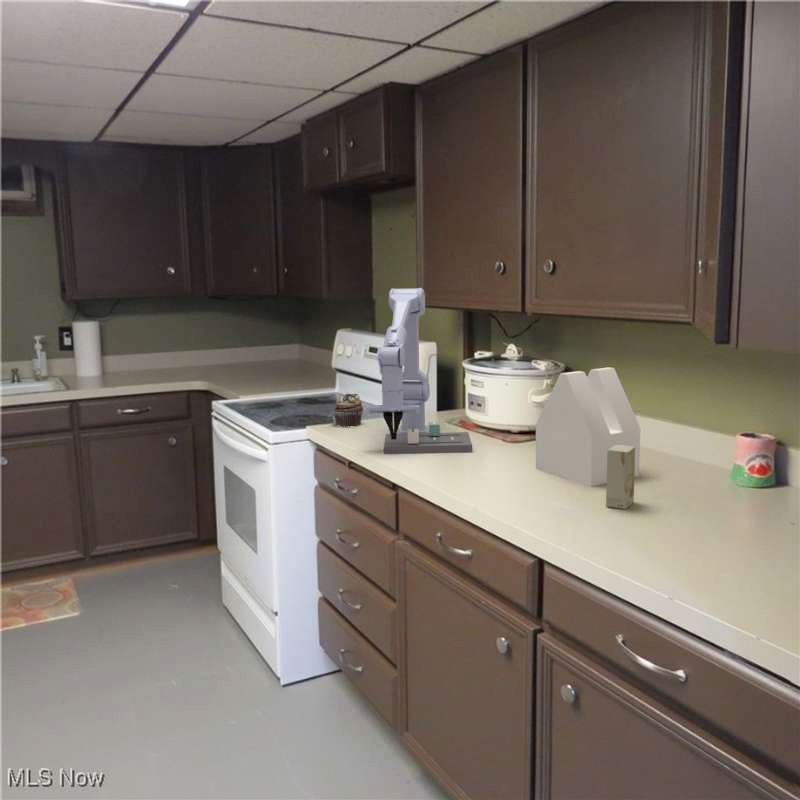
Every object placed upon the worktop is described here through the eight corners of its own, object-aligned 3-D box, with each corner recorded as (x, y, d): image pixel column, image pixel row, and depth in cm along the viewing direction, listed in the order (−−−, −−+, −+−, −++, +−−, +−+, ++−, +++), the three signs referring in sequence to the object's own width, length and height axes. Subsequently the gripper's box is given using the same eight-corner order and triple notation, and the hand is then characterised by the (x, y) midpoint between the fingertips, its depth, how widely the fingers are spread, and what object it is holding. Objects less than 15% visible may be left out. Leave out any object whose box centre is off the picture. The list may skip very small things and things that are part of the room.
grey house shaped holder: (535, 468, 192) (536, 369, 188) (581, 459, 200) (583, 363, 195) (591, 487, 176) (593, 378, 171) (638, 476, 183) (642, 372, 179)
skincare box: (626, 510, 159) (627, 452, 157) (605, 507, 161) (606, 450, 159) (634, 501, 164) (636, 445, 162) (614, 498, 167) (615, 443, 164)
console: (386, 440, 226) (385, 433, 226) (468, 438, 226) (468, 431, 225) (384, 454, 210) (383, 446, 210) (472, 452, 210) (472, 444, 210)
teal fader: (429, 432, 224) (428, 421, 223) (439, 432, 224) (439, 421, 223) (429, 435, 220) (429, 424, 219) (439, 435, 220) (439, 424, 219)
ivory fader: (407, 440, 215) (407, 428, 215) (418, 440, 215) (418, 428, 215) (407, 443, 211) (407, 431, 211) (418, 443, 211) (418, 431, 211)
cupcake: (338, 421, 256) (337, 391, 254) (366, 421, 254) (365, 391, 252) (330, 427, 246) (328, 396, 245) (359, 428, 244) (358, 396, 243)
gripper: (365, 393, 207) (366, 442, 209) (419, 392, 207) (420, 441, 209) (366, 388, 214) (368, 436, 216) (418, 387, 214) (420, 435, 216)
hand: (393, 438), depth 213 cm, fingers closed
